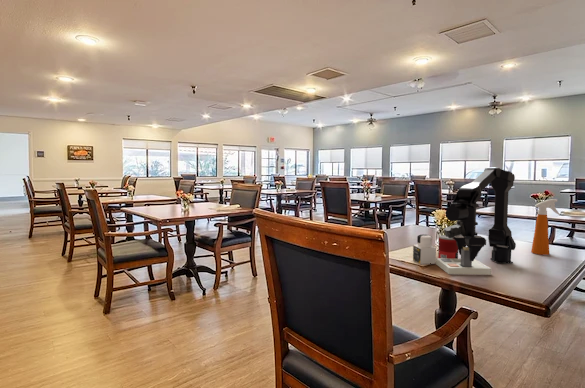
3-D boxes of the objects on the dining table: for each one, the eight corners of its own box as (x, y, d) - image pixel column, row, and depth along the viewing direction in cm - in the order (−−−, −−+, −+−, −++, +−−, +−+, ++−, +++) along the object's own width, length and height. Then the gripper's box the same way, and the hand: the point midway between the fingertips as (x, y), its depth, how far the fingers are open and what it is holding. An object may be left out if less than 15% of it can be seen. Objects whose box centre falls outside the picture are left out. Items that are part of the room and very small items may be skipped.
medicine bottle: (412, 260, 152) (413, 233, 151) (427, 259, 153) (428, 233, 152) (420, 264, 145) (420, 237, 144) (435, 264, 145) (436, 236, 144)
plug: (468, 270, 136) (468, 246, 135) (471, 273, 133) (472, 248, 132) (460, 270, 136) (461, 246, 135) (463, 272, 133) (464, 248, 132)
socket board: (474, 264, 144) (474, 258, 144) (491, 274, 131) (491, 267, 130) (435, 263, 145) (436, 257, 145) (448, 274, 132) (448, 267, 131)
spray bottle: (561, 256, 157) (564, 199, 154) (534, 254, 160) (537, 199, 158) (555, 252, 163) (558, 198, 161) (529, 250, 167) (531, 197, 165)
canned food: (460, 263, 145) (460, 238, 145) (440, 262, 147) (441, 238, 146) (455, 259, 153) (456, 235, 152) (436, 258, 155) (437, 234, 154)
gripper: (437, 215, 143) (436, 251, 144) (456, 222, 124) (455, 264, 125) (465, 215, 142) (463, 252, 143) (487, 223, 123) (486, 264, 124)
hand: (466, 257), depth 134 cm, fingers open, 9 cm apart
